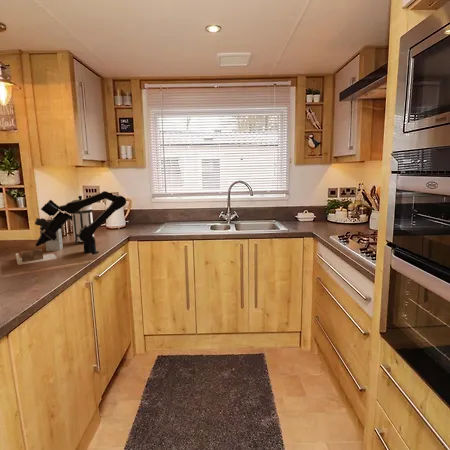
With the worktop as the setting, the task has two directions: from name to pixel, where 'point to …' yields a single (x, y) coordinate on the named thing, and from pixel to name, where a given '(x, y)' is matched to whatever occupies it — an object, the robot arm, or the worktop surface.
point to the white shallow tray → (45, 257)
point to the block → (31, 255)
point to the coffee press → (81, 220)
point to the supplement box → (55, 243)
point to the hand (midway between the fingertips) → (36, 245)
